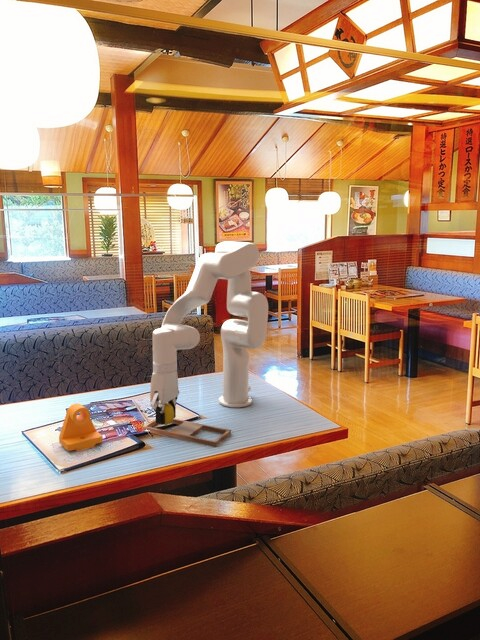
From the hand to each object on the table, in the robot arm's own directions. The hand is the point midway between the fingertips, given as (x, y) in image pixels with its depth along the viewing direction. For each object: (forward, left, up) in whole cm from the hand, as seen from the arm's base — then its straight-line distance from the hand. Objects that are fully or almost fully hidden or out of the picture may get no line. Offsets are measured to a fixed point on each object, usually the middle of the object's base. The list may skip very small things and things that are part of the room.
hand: (165, 419), depth 167 cm
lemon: (0, 0, -2) cm, 2 cm away
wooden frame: (0, +8, -3) cm, 8 cm away
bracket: (+22, -16, -3) cm, 27 cm away
